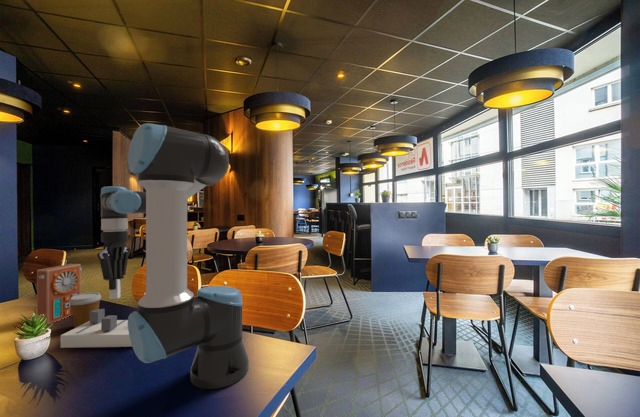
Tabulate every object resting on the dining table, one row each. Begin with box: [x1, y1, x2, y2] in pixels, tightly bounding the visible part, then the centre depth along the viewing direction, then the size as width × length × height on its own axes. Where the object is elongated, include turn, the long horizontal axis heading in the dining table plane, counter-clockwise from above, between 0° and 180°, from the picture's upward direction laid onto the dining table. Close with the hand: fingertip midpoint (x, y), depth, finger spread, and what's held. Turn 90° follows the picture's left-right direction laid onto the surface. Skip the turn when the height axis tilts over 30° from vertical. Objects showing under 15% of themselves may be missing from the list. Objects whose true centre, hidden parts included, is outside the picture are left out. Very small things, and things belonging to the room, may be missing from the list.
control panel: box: [36, 263, 83, 325], centre depth 114 cm, size 21×7×15 cm
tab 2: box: [101, 314, 118, 331], centre depth 93 cm, size 3×3×4 cm
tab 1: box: [90, 308, 106, 323], centre depth 99 cm, size 3×3×4 cm
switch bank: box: [60, 319, 133, 349], centre depth 95 cm, size 12×26×4 cm, turn 91°
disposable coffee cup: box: [69, 291, 102, 329], centre depth 105 cm, size 10×10×12 cm
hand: (115, 298), depth 95 cm, fingers closed
